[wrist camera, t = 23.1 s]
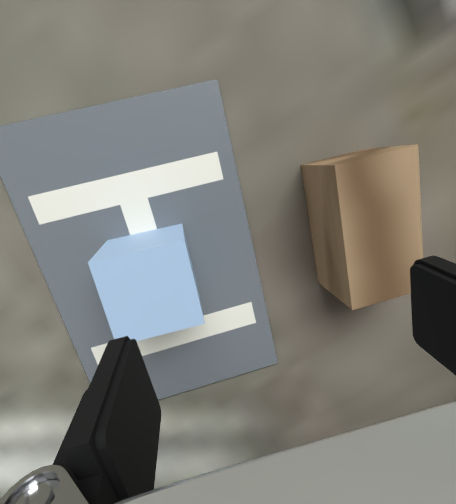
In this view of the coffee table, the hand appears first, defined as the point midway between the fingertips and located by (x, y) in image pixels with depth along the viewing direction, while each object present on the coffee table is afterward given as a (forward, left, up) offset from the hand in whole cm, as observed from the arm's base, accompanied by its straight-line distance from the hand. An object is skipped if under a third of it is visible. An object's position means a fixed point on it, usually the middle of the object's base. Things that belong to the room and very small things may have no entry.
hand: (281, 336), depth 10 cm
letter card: (+5, 0, -13) cm, 14 cm away
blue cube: (+5, 0, -12) cm, 13 cm away
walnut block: (-9, +1, -13) cm, 16 cm away
